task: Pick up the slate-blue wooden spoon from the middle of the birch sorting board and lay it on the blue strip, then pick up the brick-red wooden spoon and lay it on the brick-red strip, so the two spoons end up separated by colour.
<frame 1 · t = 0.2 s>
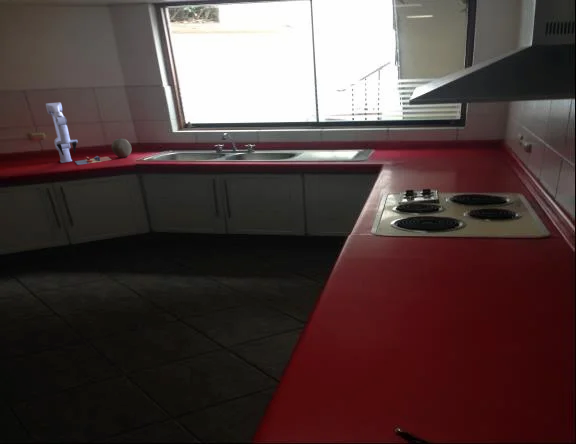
hand: (68, 154, 296), 10 cm above the counter, tool pointing down, fingers open, 7 cm apart
red spoon: (89, 161, 317), resting on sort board
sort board: (93, 160, 318), on the counter
blue spoon: (97, 159, 321), resting on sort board
cantaloupe: (123, 158, 324), on the counter
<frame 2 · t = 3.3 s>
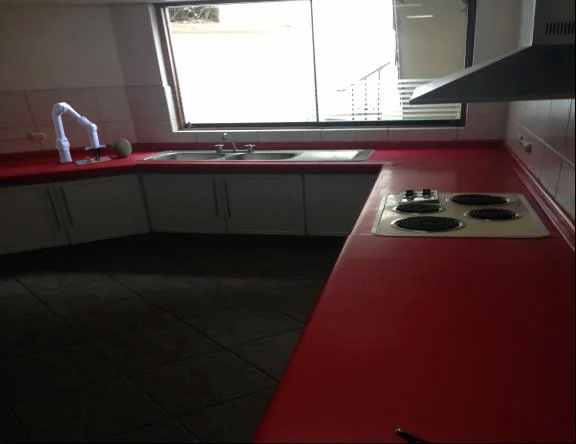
hand: (97, 158, 319), 2 cm above the counter, tool pointing down, fingers closed on blue spoon
blue spoon: (97, 159, 321), resting on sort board, touching gripper
everything else where it was.
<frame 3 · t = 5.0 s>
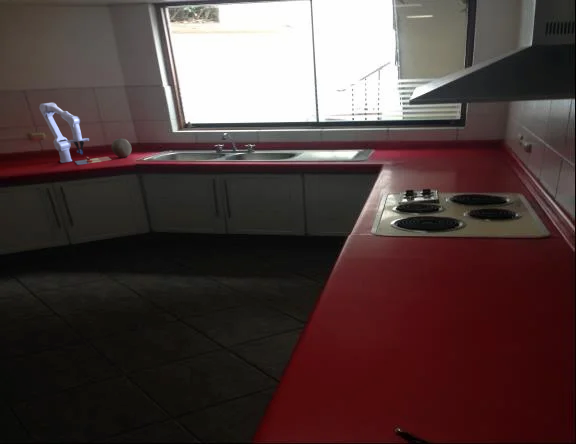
hand: (80, 151, 311), 8 cm above the counter, tool pointing down, fingers closed on blue spoon
blue spoon: (80, 153, 313), point 7 cm above the counter, touching gripper
everything else where it was.
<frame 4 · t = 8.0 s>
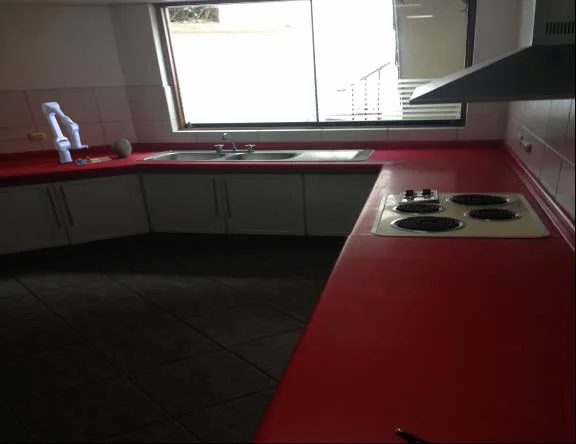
hand: (79, 158, 312), 3 cm above the counter, tool pointing down, fingers open, 7 cm apart
blue spoon: (80, 162, 315), resting on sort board
everything else where it was.
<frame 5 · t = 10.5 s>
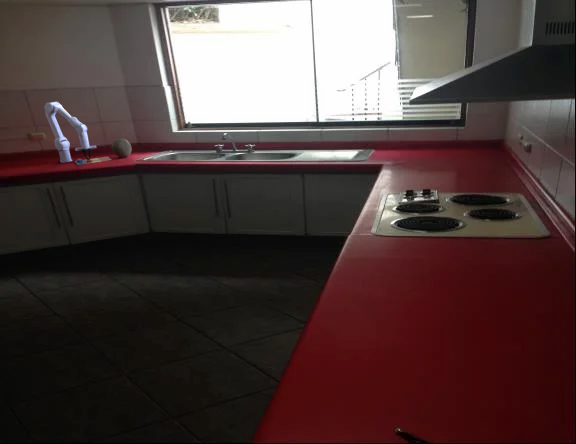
hand: (88, 158, 318), 2 cm above the counter, tool pointing down, fingers closed on red spoon
red spoon: (89, 161, 317), resting on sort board, touching gripper
everything else where it was.
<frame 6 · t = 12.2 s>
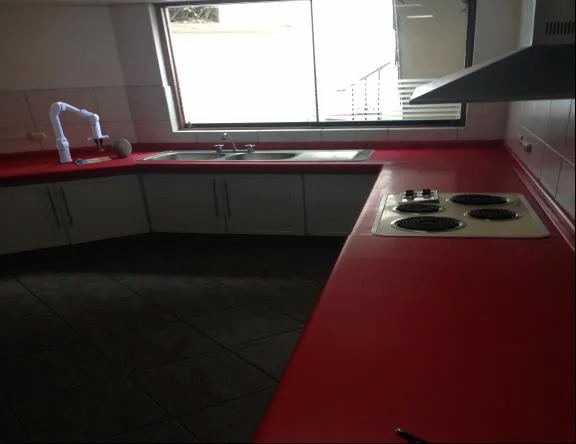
hand: (100, 148, 320), 8 cm above the counter, tool pointing down, fingers closed on red spoon
red spoon: (101, 150, 319), point 7 cm above the counter, touching gripper
everything else where it was.
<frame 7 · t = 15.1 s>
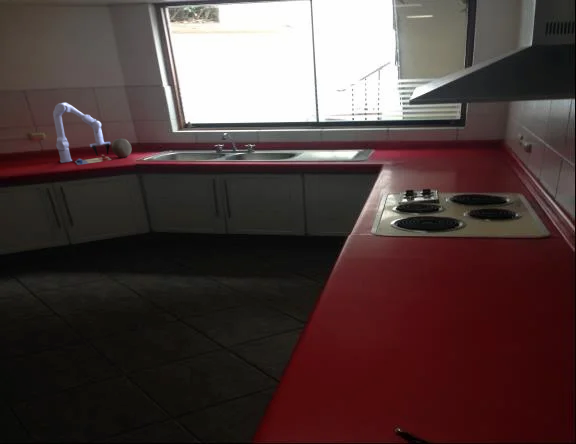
hand: (102, 154, 323), 3 cm above the counter, tool pointing down, fingers open, 7 cm apart
red spoon: (104, 158, 322), resting on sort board
everything else where it was.
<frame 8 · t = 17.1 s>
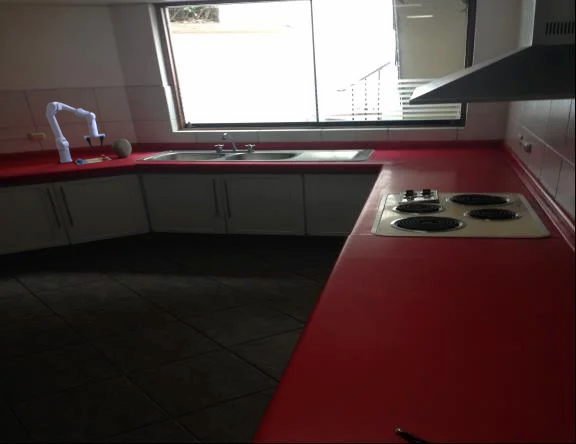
hand: (96, 147, 321), 9 cm above the counter, tool pointing down, fingers open, 7 cm apart
nothing on the counter moved.
at the end: blue spoon inside the target area (0.9 cm from its centre), resting on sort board; red spoon inside the target area (0.8 cm from its centre), resting on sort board; the gripper is holding nothing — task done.
